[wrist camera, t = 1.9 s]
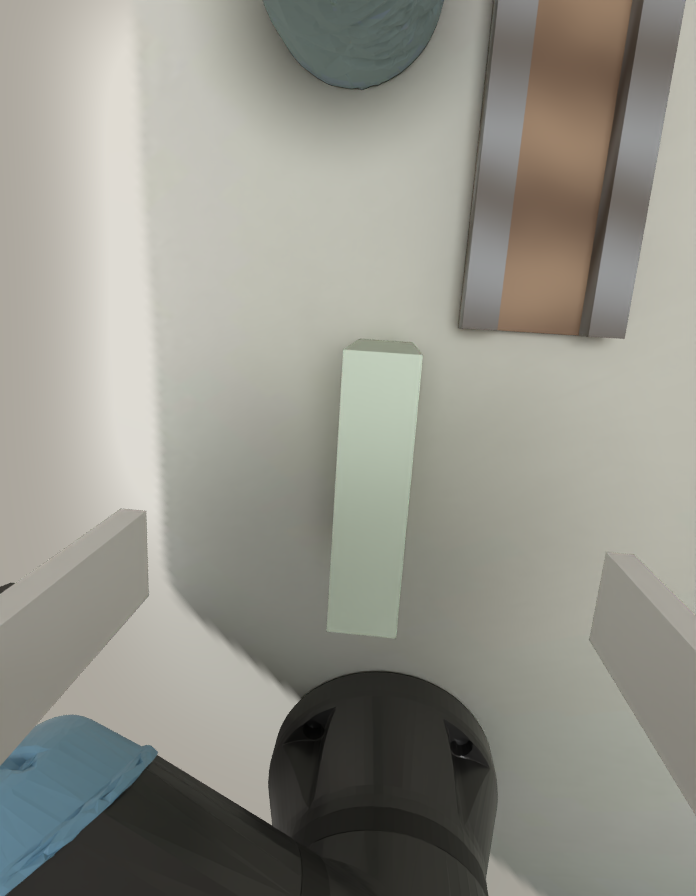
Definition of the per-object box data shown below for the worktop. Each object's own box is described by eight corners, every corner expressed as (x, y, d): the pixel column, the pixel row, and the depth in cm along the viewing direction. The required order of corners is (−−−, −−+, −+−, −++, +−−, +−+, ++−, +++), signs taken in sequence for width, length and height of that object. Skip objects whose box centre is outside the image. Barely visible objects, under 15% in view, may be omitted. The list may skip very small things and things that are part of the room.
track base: (605, 337, 30) (624, 338, 28) (456, 327, 30) (462, 328, 28) (699, -208, 24) (734, -266, 22) (514, -209, 25) (527, -266, 22)
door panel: (394, 537, 34) (395, 638, 23) (342, 532, 34) (319, 630, 23) (412, 342, 31) (422, 355, 20) (354, 338, 31) (335, 348, 20)
